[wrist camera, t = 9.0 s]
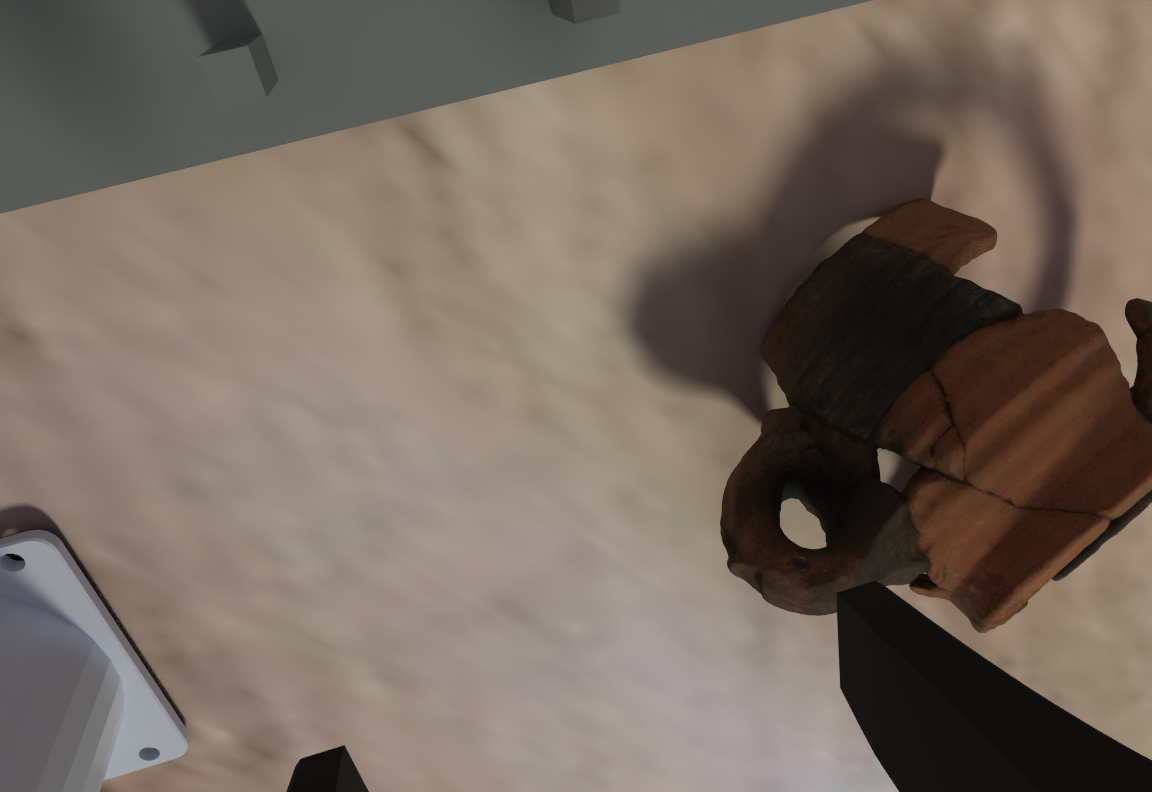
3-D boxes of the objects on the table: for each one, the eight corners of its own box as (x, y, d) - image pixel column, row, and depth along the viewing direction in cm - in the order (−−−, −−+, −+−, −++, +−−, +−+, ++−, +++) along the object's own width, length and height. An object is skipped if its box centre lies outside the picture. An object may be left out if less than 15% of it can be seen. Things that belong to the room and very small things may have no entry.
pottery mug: (1016, 104, 20) (1367, 312, 16) (927, 335, 28) (1147, 514, 24) (613, 360, 18) (905, 685, 14) (640, 535, 26) (830, 774, 21)
